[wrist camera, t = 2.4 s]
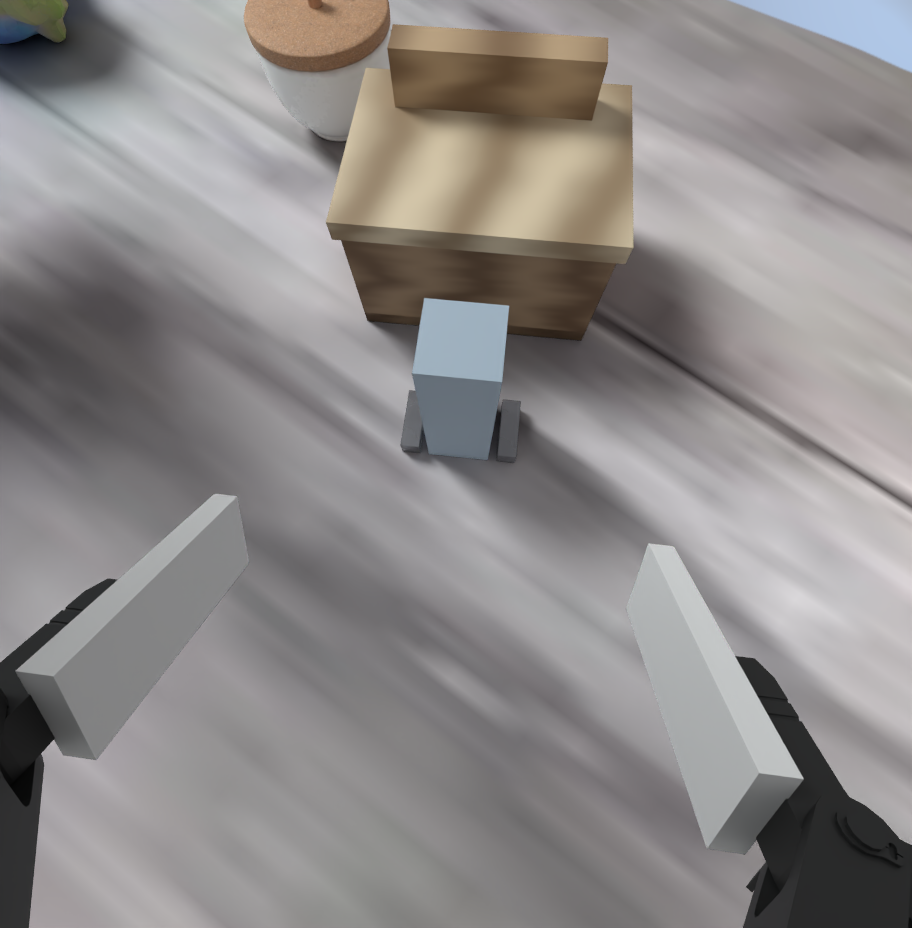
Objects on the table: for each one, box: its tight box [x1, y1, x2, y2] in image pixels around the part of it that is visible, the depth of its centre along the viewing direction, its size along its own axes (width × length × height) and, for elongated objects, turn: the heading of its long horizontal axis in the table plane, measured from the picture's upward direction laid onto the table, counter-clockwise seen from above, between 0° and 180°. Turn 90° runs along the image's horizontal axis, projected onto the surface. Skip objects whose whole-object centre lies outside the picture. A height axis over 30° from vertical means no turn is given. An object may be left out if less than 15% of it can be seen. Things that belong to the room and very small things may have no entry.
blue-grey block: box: [412, 298, 509, 460], centre depth 25 cm, size 4×4×11 cm
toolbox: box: [341, 240, 616, 340], centre depth 31 cm, size 16×12×8 cm
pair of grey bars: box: [401, 390, 521, 463], centre depth 30 cm, size 8×4×1 cm, turn 83°
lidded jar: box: [244, 0, 391, 142], centre depth 35 cm, size 11×11×9 cm
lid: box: [326, 24, 633, 264], centre depth 25 cm, size 17×13×4 cm
